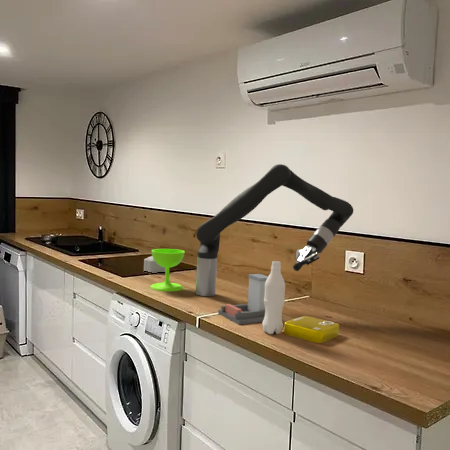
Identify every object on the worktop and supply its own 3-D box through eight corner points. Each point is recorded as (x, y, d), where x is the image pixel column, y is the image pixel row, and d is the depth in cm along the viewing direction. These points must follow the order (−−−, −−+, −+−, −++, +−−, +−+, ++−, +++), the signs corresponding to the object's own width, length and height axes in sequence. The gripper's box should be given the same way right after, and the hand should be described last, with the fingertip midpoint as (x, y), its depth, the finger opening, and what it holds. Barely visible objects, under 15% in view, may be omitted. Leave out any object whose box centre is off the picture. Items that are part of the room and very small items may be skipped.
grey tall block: (246, 309, 190) (248, 274, 189) (258, 308, 193) (260, 273, 192) (258, 314, 183) (260, 278, 182) (269, 313, 185) (272, 277, 184)
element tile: (303, 326, 178) (304, 313, 178) (340, 335, 168) (341, 322, 168) (281, 334, 166) (282, 320, 166) (319, 345, 157) (320, 330, 156)
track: (218, 313, 188) (218, 302, 188) (256, 309, 197) (257, 299, 197) (238, 324, 174) (239, 312, 174) (279, 320, 183) (279, 308, 183)
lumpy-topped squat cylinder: (141, 271, 272) (141, 256, 271) (159, 269, 281) (160, 254, 280) (152, 274, 265) (152, 258, 264) (170, 272, 274) (171, 257, 273)
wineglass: (167, 293, 220) (168, 254, 218) (143, 287, 229) (144, 250, 228) (190, 288, 232) (191, 251, 231) (166, 283, 242) (167, 247, 241)
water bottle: (266, 335, 163) (270, 263, 161) (259, 329, 169) (263, 259, 168) (285, 335, 164) (290, 263, 163) (277, 328, 171) (282, 260, 169)
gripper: (305, 231, 204) (280, 260, 199) (326, 234, 192) (300, 266, 187) (314, 243, 207) (289, 272, 202) (335, 247, 195) (310, 278, 190)
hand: (295, 269), depth 195 cm, fingers closed
